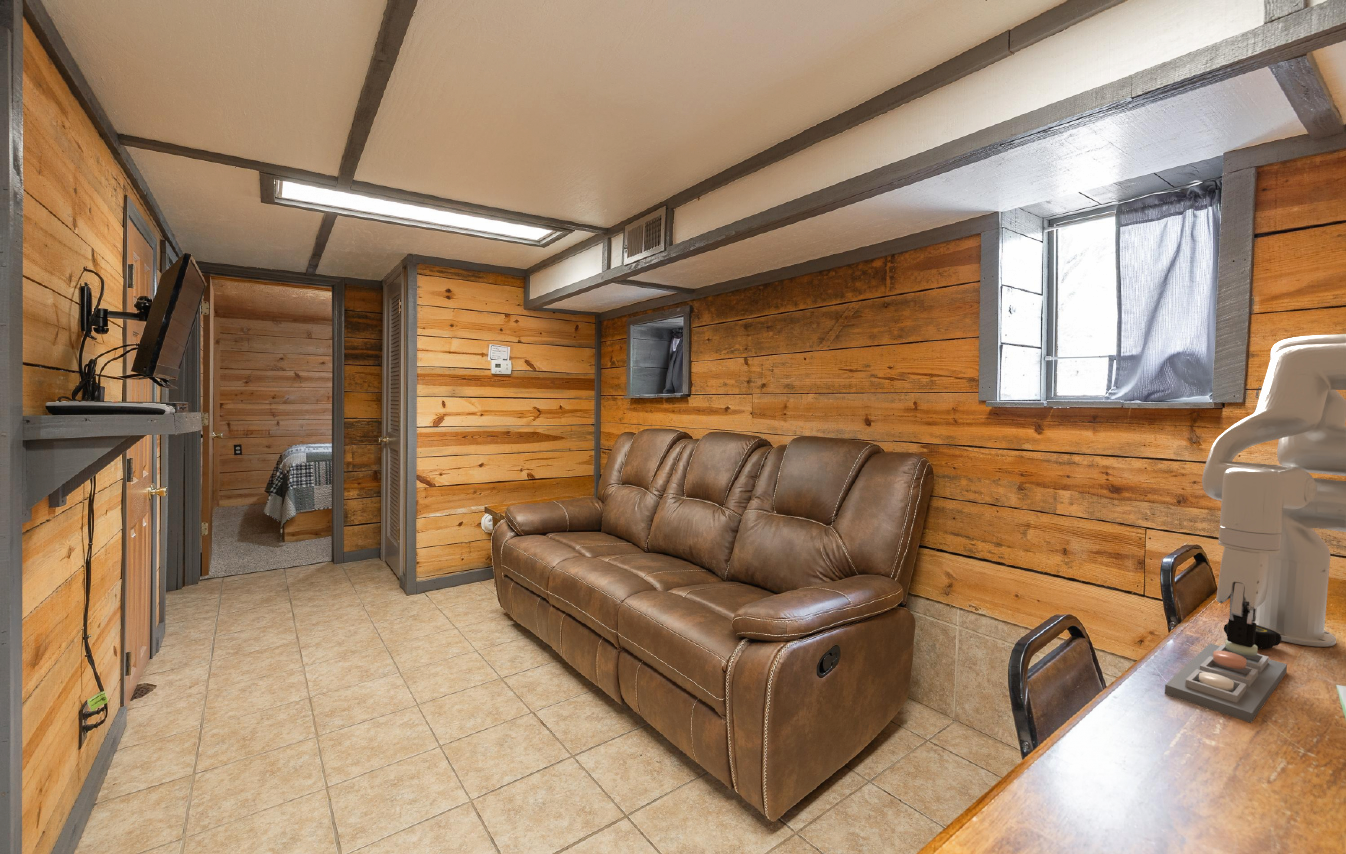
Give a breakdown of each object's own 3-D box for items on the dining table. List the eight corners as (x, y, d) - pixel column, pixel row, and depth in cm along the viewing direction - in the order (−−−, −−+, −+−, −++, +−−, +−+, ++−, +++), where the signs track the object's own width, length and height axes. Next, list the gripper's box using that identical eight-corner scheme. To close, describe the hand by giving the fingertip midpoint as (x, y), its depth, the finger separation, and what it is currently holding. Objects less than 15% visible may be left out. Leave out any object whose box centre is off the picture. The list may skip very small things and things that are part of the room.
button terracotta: (1216, 655, 99) (1216, 648, 99) (1248, 664, 96) (1249, 657, 96) (1209, 661, 97) (1210, 654, 97) (1242, 671, 94) (1243, 663, 94)
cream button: (1202, 676, 95) (1202, 669, 95) (1236, 687, 91) (1236, 679, 91) (1195, 684, 92) (1195, 676, 92) (1229, 694, 89) (1230, 687, 89)
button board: (1209, 651, 108) (1210, 637, 108) (1286, 672, 100) (1287, 657, 100) (1164, 693, 93) (1165, 677, 93) (1251, 722, 85) (1252, 705, 85)
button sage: (1228, 643, 104) (1228, 636, 104) (1259, 651, 101) (1260, 644, 100) (1222, 649, 101) (1222, 642, 101) (1254, 657, 98) (1254, 650, 98)
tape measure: (1283, 650, 109) (1284, 630, 109) (1259, 654, 107) (1261, 635, 107) (1238, 635, 116) (1239, 616, 115) (1215, 639, 114) (1216, 620, 113)
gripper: (1230, 529, 107) (1222, 626, 108) (1207, 540, 98) (1200, 645, 99) (1288, 538, 101) (1280, 640, 102) (1270, 551, 92) (1261, 663, 93)
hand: (1240, 643), depth 101 cm, fingers closed
